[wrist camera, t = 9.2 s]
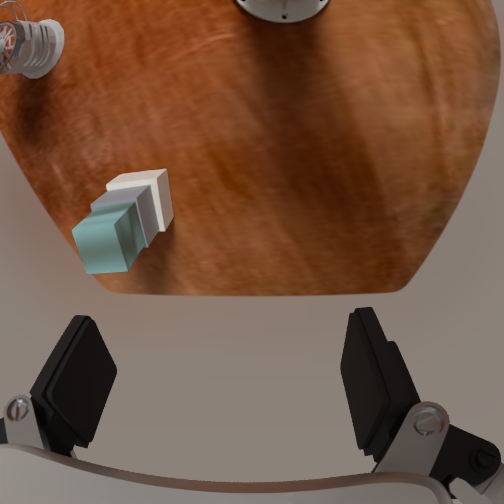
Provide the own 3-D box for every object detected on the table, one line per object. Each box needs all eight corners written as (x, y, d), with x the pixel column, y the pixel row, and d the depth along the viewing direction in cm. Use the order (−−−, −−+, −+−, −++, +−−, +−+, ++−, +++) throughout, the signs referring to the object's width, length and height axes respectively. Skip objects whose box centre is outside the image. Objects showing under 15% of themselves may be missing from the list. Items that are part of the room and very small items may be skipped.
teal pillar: (96, 207, 32) (71, 230, 27) (135, 201, 32) (113, 224, 26) (108, 246, 34) (87, 273, 29) (145, 242, 34) (128, 271, 29)
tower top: (108, 190, 36) (90, 204, 32) (150, 184, 36) (136, 197, 31) (118, 233, 39) (103, 251, 35) (159, 229, 39) (148, 247, 34)
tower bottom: (120, 174, 40) (106, 184, 36) (167, 168, 40) (156, 178, 35) (129, 219, 43) (116, 234, 39) (174, 216, 43) (165, 231, 39)
